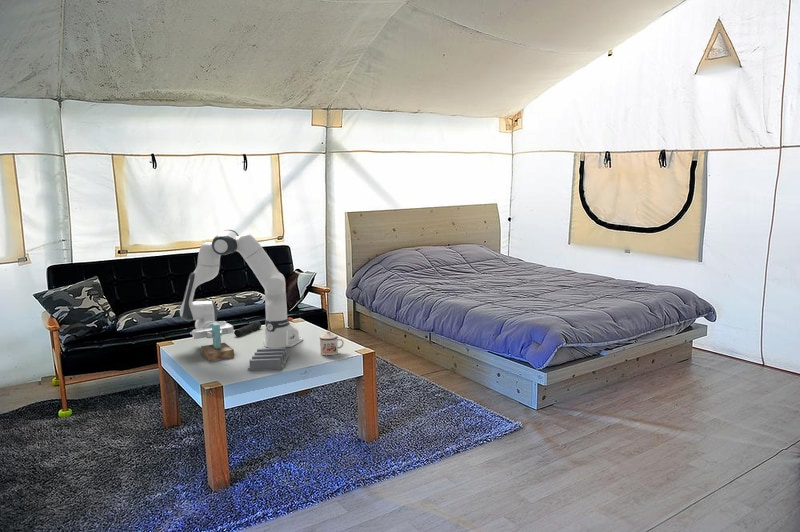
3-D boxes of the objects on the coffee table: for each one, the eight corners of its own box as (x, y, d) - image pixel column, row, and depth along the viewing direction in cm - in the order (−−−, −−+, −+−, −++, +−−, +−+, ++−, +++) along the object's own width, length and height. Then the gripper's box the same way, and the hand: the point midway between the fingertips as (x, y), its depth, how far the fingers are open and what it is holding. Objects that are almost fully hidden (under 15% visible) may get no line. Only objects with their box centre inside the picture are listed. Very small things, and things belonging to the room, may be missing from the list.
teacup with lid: (320, 357, 289) (320, 334, 288) (319, 352, 298) (318, 329, 297) (345, 355, 292) (344, 332, 290) (342, 350, 301) (342, 328, 299)
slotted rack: (256, 357, 290) (255, 348, 290) (288, 356, 291) (288, 347, 290) (247, 370, 271) (247, 360, 270) (282, 369, 271) (281, 359, 271)
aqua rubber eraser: (218, 345, 298) (216, 322, 297) (221, 348, 293) (219, 324, 292) (213, 346, 297) (211, 323, 295) (216, 348, 292) (214, 325, 290)
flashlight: (261, 329, 350) (261, 320, 349) (240, 337, 331) (240, 329, 330) (254, 328, 352) (254, 320, 351) (233, 337, 333) (233, 328, 332)
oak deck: (224, 349, 306) (224, 342, 305) (234, 357, 292) (233, 349, 292) (201, 353, 299) (200, 346, 299) (209, 361, 286) (209, 353, 285)
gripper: (188, 326, 299) (195, 331, 288) (228, 320, 310) (236, 325, 299) (189, 338, 300) (196, 344, 289) (229, 332, 311) (237, 337, 299)
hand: (216, 334), depth 294 cm, fingers closed on aqua rubber eraser, 2 cm apart
